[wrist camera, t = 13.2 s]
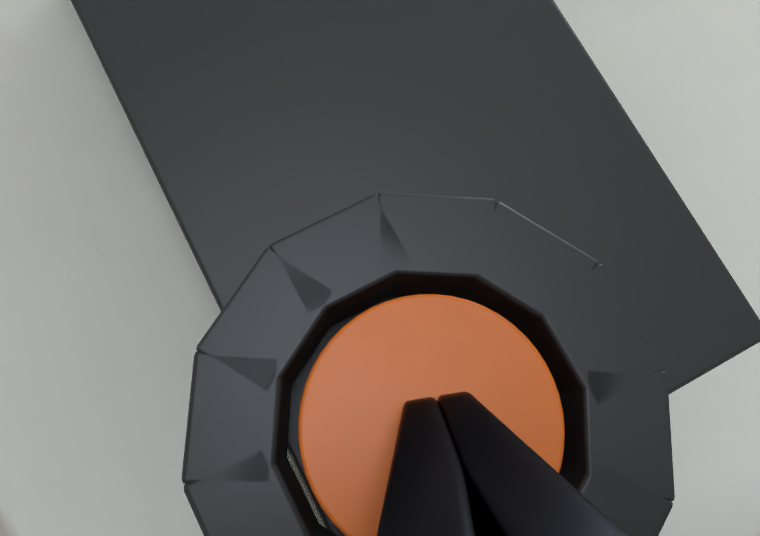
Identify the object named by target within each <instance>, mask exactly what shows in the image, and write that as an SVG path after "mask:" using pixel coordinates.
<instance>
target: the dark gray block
mask: <svg viewBox="0 0 760 536" xmlns="http://www.w3.org/2000/svg"><path fill="white" fill-rule="evenodd" d="M71 1H72V3H73V5H74V8H75V10H76V12H77V14H78V16H79V18H80V20H81V22H82V24H83V26H84V28H85V30H86V32H87V34H88V37H89V39H90V41H91V43H92V45H93V47H94V49H95V51H96V53H97V55H98V57H99V59H100V61H101V63H102V66H103V68H104V70H105V72H106V74H107V76H108V78H109V80H110V82H111V84H112V86H113V88H114V90H115V92H116V95H117V97H118V99H119V101H120V103H121V105H122V107H123V109H124V111H125V113H126V115H127V117H128V119H129V121H130V124H131V126H132V128H133V130H134V132H135V134H136V136H137V138H138V140H139V142H140V144H141V146H142V148H143V150H144V153H145V155H146V157H147V159H148V161H149V163H150V165H151V167H152V169H153V171H154V173H155V175H156V177H157V179H158V182H159V184H160V186H161V188H162V190H163V192H164V194H165V196H166V198H167V200H168V202H169V204H170V206H171V208H172V211H173V213H174V215H175V217H176V219H177V221H178V223H179V225H180V227H181V229H182V231H183V233H184V235H185V237H186V240H187V242H188V244H189V246H190V248H191V250H192V252H193V254H194V256H195V258H196V260H197V262H198V264H199V266H200V268H201V271H202V273H203V275H204V277H205V279H206V281H207V283H208V285H209V287H210V289H211V291H212V293H213V295H214V297H215V300H216V302H217V304H218V306H219V308H220V310H221V313H220V314H219V316H218V317H217V318H216V320H215V321H214V323H213V324H212V326H211V327H210V328H209V330H208V331H207V333H206V334H205V336H204V337H203V338H202V340H201V341H200V343H199V344H198V346H197V349H196V350H197V352H196V353H195V355H194V363H193V372H192V382H191V392H190V402H189V412H188V422H187V432H186V441H185V451H184V461H183V471H182V481H183V483H184V484H185V485H184V492H185V494H186V496H187V499H188V501H189V503H190V505H191V508H192V510H193V512H194V514H195V517H196V519H197V521H198V523H199V525H200V528H201V530H202V532H203V534H204V536H345V535H344V534H343V533H342V532H341V531H340V530H339V529H338V528H337V527H336V526H335V525H334V524H333V523H332V521H331V520H330V519H329V517H328V516H327V515H326V513H325V512H324V511H323V509H322V508H321V506H320V505H319V503H318V501H317V499H316V498H315V496H314V494H313V492H312V490H311V488H310V485H309V483H308V480H307V478H306V475H305V472H304V468H303V464H302V461H301V457H300V449H299V441H298V417H299V409H300V402H301V398H302V394H303V390H304V387H305V384H306V381H307V379H308V376H309V374H310V371H311V369H312V367H313V365H314V363H315V362H316V360H317V358H318V356H319V354H320V353H321V351H322V350H323V349H324V347H325V346H326V345H327V343H328V342H329V341H330V339H331V338H332V337H333V336H334V335H335V334H336V333H337V332H338V331H339V330H340V329H341V328H342V327H343V326H345V325H346V324H347V323H348V322H350V321H351V320H352V319H353V318H355V317H356V316H358V315H359V314H361V313H363V312H364V311H366V310H368V309H369V308H371V307H374V306H376V305H378V304H380V303H383V302H385V301H388V300H392V299H395V298H399V297H403V296H409V295H416V294H441V295H449V296H455V297H459V298H463V299H467V300H470V301H473V302H475V303H478V304H480V305H483V306H485V307H487V308H489V309H491V310H493V311H494V312H496V313H498V314H500V315H501V316H502V317H504V318H505V319H507V320H508V321H509V322H511V323H512V324H513V325H515V326H516V327H517V328H518V329H519V330H520V331H521V332H522V333H523V334H524V335H525V336H526V337H527V338H528V339H529V340H530V342H531V343H532V344H533V345H534V346H535V347H536V349H537V350H538V352H539V353H540V355H541V356H542V358H543V359H544V361H545V362H546V364H547V366H548V368H549V370H550V372H551V374H552V376H553V378H554V381H555V384H556V387H557V390H558V392H559V395H560V400H561V405H562V409H563V415H564V427H565V439H564V452H563V458H562V464H561V469H560V472H559V474H560V475H561V476H562V477H563V478H565V479H566V480H567V481H568V482H569V483H570V484H571V485H572V486H573V487H575V488H576V489H577V490H578V491H579V492H580V493H581V494H582V495H583V496H584V497H586V498H587V499H588V500H589V501H590V502H591V503H592V504H593V505H594V506H596V507H597V508H598V509H599V510H600V511H601V512H602V513H603V514H604V515H605V516H607V517H608V518H609V519H610V520H611V521H612V522H613V523H614V524H615V525H617V526H618V527H619V528H620V529H621V530H622V531H623V532H624V533H625V534H626V535H628V536H658V535H659V533H660V531H661V529H662V527H663V525H664V523H665V521H666V518H667V516H668V514H669V512H670V510H671V508H672V505H673V503H672V502H671V501H673V500H674V497H675V496H674V480H673V463H672V447H671V430H670V414H669V398H668V395H669V394H670V393H672V392H674V391H676V390H677V389H679V388H681V387H683V386H684V385H686V384H688V383H689V382H691V381H693V380H695V379H696V378H698V377H700V376H702V375H703V374H705V373H707V372H708V371H710V370H712V369H714V368H715V367H717V366H719V365H721V364H722V363H724V362H726V361H728V360H729V359H731V358H733V357H734V356H736V355H738V354H740V353H741V352H743V351H745V350H747V349H748V348H750V347H752V346H753V345H755V344H757V343H759V342H760V320H759V318H758V317H757V315H756V313H755V312H754V310H753V309H752V307H751V306H750V304H749V303H748V301H747V300H746V298H745V296H744V295H743V293H742V292H741V290H740V289H739V287H738V286H737V284H736V282H735V281H734V279H733V278H732V276H731V275H730V273H729V272H728V270H727V269H726V267H725V265H724V264H723V262H722V261H721V259H720V258H719V256H718V255H717V253H716V252H715V250H714V248H713V247H712V245H711V244H710V242H709V241H708V239H707V238H706V236H705V234H704V233H703V231H702V230H701V228H700V227H699V225H698V224H697V222H696V221H695V219H694V217H693V216H692V214H691V213H690V211H689V210H688V208H687V207H686V205H685V203H684V202H683V200H682V199H681V197H680V196H679V194H678V193H677V191H676V190H675V188H674V186H673V185H672V183H671V182H670V180H669V179H668V177H667V176H666V174H665V173H664V171H663V169H662V168H661V166H660V165H659V163H658V162H657V160H656V159H655V157H654V155H653V154H652V152H651V151H650V149H649V148H648V146H647V145H646V143H645V142H644V140H643V138H642V137H641V135H640V134H639V132H638V131H637V129H636V128H635V126H634V125H633V123H632V121H631V120H630V118H629V117H628V115H627V114H626V112H625V111H624V109H623V107H622V106H621V104H620V103H619V101H618V100H617V98H616V97H615V95H614V94H613V92H612V90H611V89H610V87H609V86H608V84H607V83H606V81H605V80H604V78H603V77H602V75H601V73H600V72H599V70H598V69H597V67H596V66H595V64H594V63H593V61H592V59H591V58H590V56H589V55H588V53H587V52H586V50H585V49H584V47H583V46H582V44H581V42H580V41H579V39H578V38H577V36H576V35H575V33H574V32H573V30H572V28H571V27H570V25H569V24H568V22H567V21H566V19H565V18H564V16H563V15H562V13H561V11H560V10H559V8H558V7H557V5H556V4H555V2H554V1H553V0H71ZM287 449H288V451H289V453H290V455H291V457H292V459H293V461H294V463H295V465H296V467H297V469H298V471H299V474H300V476H301V478H302V480H303V482H304V484H305V486H306V488H307V490H308V492H309V494H310V496H311V498H312V500H313V503H314V505H315V507H316V509H317V511H318V513H319V515H320V517H321V519H322V521H323V523H324V525H325V527H326V528H325V527H323V526H322V525H320V524H319V523H318V521H317V519H316V517H315V515H314V513H313V511H312V508H311V506H310V504H309V502H308V500H307V498H306V496H305V494H304V492H303V490H302V488H301V486H300V484H299V481H298V479H297V477H296V475H295V473H294V471H293V469H292V467H291V465H290V463H289V461H288V459H287Z"/></svg>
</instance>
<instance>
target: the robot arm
mask: <svg viewBox="0 0 760 536" xmlns="http://www.w3.org/2000/svg"><path fill="white" fill-rule="evenodd" d="M377 536H628V535H626V534H625V533H624V532H623V531H622V530H621V529H620V528H619V527H618V526H617V525H615V524H614V523H613V522H612V521H611V520H610V519H609V518H608V517H607V516H605V515H604V514H603V513H602V512H601V511H600V510H599V509H598V508H597V507H596V506H594V505H593V504H592V503H591V502H590V501H589V500H588V499H587V498H586V497H584V496H583V495H582V494H581V493H580V492H579V491H578V490H577V489H576V488H575V487H573V486H572V485H571V484H570V483H569V482H568V481H567V480H566V479H565V478H563V477H562V476H561V475H560V474H559V473H558V472H557V471H556V470H555V469H554V468H552V467H551V466H550V465H549V464H548V463H547V462H546V461H545V460H544V459H542V458H541V457H540V456H539V455H538V454H537V453H536V452H535V451H534V450H532V449H531V448H530V447H529V446H528V445H527V444H526V443H525V442H524V441H523V440H521V439H520V438H519V437H518V436H517V435H516V434H515V433H514V432H513V431H511V430H510V429H509V428H508V427H507V426H506V425H505V424H504V423H503V422H502V421H500V420H499V419H498V418H497V417H496V416H495V415H494V414H493V413H492V412H490V411H489V410H488V409H487V408H486V407H485V406H484V405H483V404H482V403H481V402H479V401H478V400H477V399H476V398H475V397H474V396H473V395H472V394H470V393H468V392H457V393H451V394H445V395H441V396H439V397H438V398H437V400H436V399H435V398H433V397H426V398H420V399H414V400H408V401H406V402H405V403H404V405H403V409H402V414H401V419H400V424H399V429H398V434H397V438H396V443H395V448H394V453H393V458H392V463H391V468H390V473H389V478H388V483H387V488H386V492H385V497H384V502H383V507H382V512H381V517H380V522H379V527H378V532H377Z"/></svg>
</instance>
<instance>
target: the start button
mask: <svg viewBox="0 0 760 536" xmlns="http://www.w3.org/2000/svg"><path fill="white" fill-rule="evenodd" d="M457 392H468V393H470V394H472V395H473V396H474V397H475V398H476V399H477V400H478V401H479V402H481V403H482V404H483V405H484V406H485V407H486V408H487V409H488V410H489V411H490V412H492V413H493V414H494V415H495V416H496V417H497V418H498V419H499V420H500V421H502V422H503V423H504V424H505V425H506V426H507V427H508V428H509V429H510V430H511V431H513V432H514V433H515V434H516V435H517V436H518V437H519V438H520V439H521V440H523V441H524V442H525V443H526V444H527V445H528V446H529V447H530V448H531V449H532V450H534V451H535V452H536V453H537V454H538V455H539V456H540V457H541V458H542V459H544V460H545V461H546V462H547V463H548V464H549V465H550V466H551V467H552V468H554V469H555V470H556V471H557V472H558V473H559V472H560V469H561V464H562V458H563V452H564V439H565V427H564V415H563V409H562V405H561V400H560V395H559V392H558V390H557V387H556V384H555V381H554V378H553V376H552V374H551V372H550V370H549V368H548V366H547V364H546V362H545V361H544V359H543V358H542V356H541V355H540V353H539V352H538V350H537V349H536V347H535V346H534V345H533V344H532V343H531V342H530V340H529V339H528V338H527V337H526V336H525V335H524V334H523V333H522V332H521V331H520V330H519V329H518V328H517V327H516V326H515V325H513V324H512V323H511V322H509V321H508V320H507V319H505V318H504V317H502V316H501V315H500V314H498V313H496V312H494V311H493V310H491V309H489V308H487V307H485V306H483V305H480V304H478V303H475V302H473V301H470V300H467V299H463V298H459V297H455V296H449V295H441V294H416V295H409V296H403V297H399V298H395V299H392V300H388V301H385V302H383V303H380V304H378V305H376V306H374V307H371V308H369V309H368V310H366V311H364V312H363V313H361V314H359V315H358V316H356V317H355V318H353V319H352V320H351V321H350V322H348V323H347V324H346V325H345V326H343V327H342V328H341V329H340V330H339V331H338V332H337V333H336V334H335V335H334V336H333V337H332V338H331V339H330V341H329V342H328V343H327V345H326V346H325V347H324V349H323V350H322V351H321V353H320V354H319V356H318V358H317V360H316V362H315V363H314V365H313V367H312V369H311V371H310V374H309V376H308V379H307V381H306V384H305V387H304V390H303V394H302V398H301V402H300V409H299V417H298V441H299V449H300V457H301V461H302V464H303V468H304V472H305V475H306V478H307V480H308V483H309V485H310V488H311V490H312V492H313V494H314V496H315V498H316V499H317V501H318V503H319V505H320V506H321V508H322V509H323V511H324V512H325V513H326V515H327V516H328V517H329V519H330V520H331V521H332V523H333V524H334V525H335V526H336V527H337V528H338V529H339V530H340V531H341V532H342V533H343V534H344V535H345V536H377V532H378V527H379V522H380V517H381V512H382V507H383V502H384V497H385V492H386V488H387V483H388V478H389V473H390V468H391V463H392V458H393V453H394V448H395V443H396V438H397V434H398V429H399V424H400V419H401V414H402V409H403V405H404V403H405V402H406V401H408V400H414V399H420V398H426V397H433V398H435V399H436V400H437V398H438V397H439V396H441V395H445V394H451V393H457Z"/></svg>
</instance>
